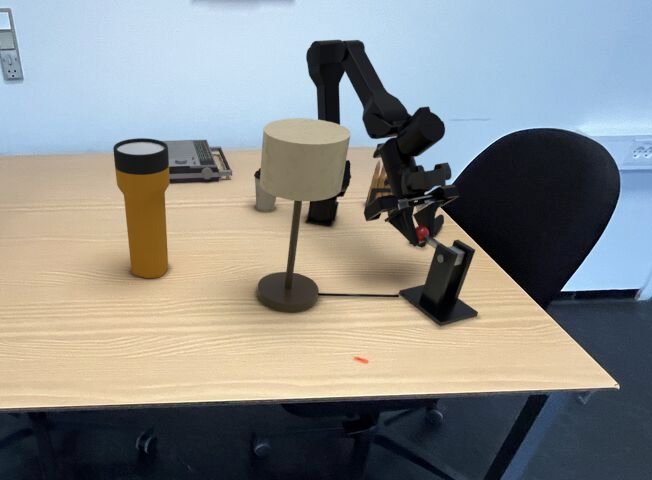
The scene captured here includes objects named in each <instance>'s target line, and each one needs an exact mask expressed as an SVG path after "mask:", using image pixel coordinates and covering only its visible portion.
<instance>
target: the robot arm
mask: <svg viewBox="0 0 652 480" xmlns="http://www.w3.org/2000/svg"><path fill="white" fill-rule="evenodd" d="M365 46H366V45H365V43H364V42H363V41H361V40H360V39H350V40H349V39H348V40H347V39H346V40H341V39H328V40H327V39H326V40H314V41H313V42H312V43H311V44H310V46H309V47H308V49H307V50H306V55H305V58H306V59H305V60H306V64H307V70H308V76H309V78H310V80H311V81H312V83H313V84H314V86H315V87H316V88H315V89H316V105H317V106H316V108H317V109H316V110H317V120H323V121H328V122H333V123H336V124H339V125H341V105H340V104H341V101H340V100H341V99H340V83H341V81H342V79H343V76H344V75H345V74H346V76H347V78H348V79H349V82H350V83H351V86H352V87H353V90H354V91H355V93H356V96H357V97H358V99H359V101H360V103H361V106H362V109H363V111H362V117H361V119H362V123H363V126H364V128H365V131H366V135H367V136H368V137H369V138H370V140H371V139H372V140H381V139H387V140H386V141H385V142H382V143H377V144H376V148H375V150H374V152H373V154H372V159H380V158H381V159H380V160H381V162H382V166H383V165H384V169H385V172H386V176H387V179H386V180H385V181H384V185H385V186H390V189H391V192H392V195H387V196H381V197H378V198H376V199H375V200H374V201H372V202H371V203H369V204H368V205H367V206H366V205H365V207H364V210H363V215H364V219H365V222H372V221H378V220H379V219H381V218H380V217H381V215H382V213H387V217H386V218H385V219H383V221H384V222H385V223H389V224H390V226H392V227H394V228H395V229H396V230H397V231H398V232H399V234H401V235H402V236H403V237H404V238H405V239H406V240H407V241H408V242H409V244H410V243H411V244H410V245H412V246H413V247H416V248H417V247H418V245H419V241H418V236H417V232H416V225H415V222H416V224H417V227H418V226H424V227H426V228H427V229H428V230H429V236H431V237H432V238H434V235H433V234H434V220H435V218H436V214H437V212H438V209H439V208H441V207H443V206H446V205H447V204H449V203H451V202H452V201H454V200H455V199H457V198H459V197H460V194H459V191H458V187H457V186H456V185H454V184H452V183H451V184H447V182H446V181H449V180H450V181H451V179H452V168H451V166H450V163H449V162H447V161H446V162H442V163H441V162H440V163H436V164H434V166H433V169H430V170H425V167H424V166H423V164H419V165H417V163H416V159H415V158H417V157H419V156H421V155H423V154H424V153H425V152H426V151H428V150H429V149H431V147H433V146H434V145H436V144H438V142H440V141H441V140H442V139H443V138H444V136H445V133H446V125H445V122H444V121H443V120H442V119H441V118H440V117H439V116H438V115H437V114H436V113H434V112H432V111H431V108H430V106H420V107H418V108H417V109H416V110H415V112H414V113H413V114H410V113H409V112H408V110H407V107H405V105H404V104H403V103H402V102H401V101H400V99H399V98H398V97H396V96H394V95H393V94H391V93H390V92H388V90H386V88H385V86H384V84H383V82H382V79H380V76H379V74H378V73H377V71H376V70H375V68H374V65H373V63H372V62H371V60H370V58H369V56H368V54H367V52H366V47H365ZM351 165H352V164H351V161H350V160H349V159H346V164H345V170H344V176H343V182H342V187H341V191H340V192H339V194H337V195H336V196H334V197H332V198H329V199H325V200H319V201H309V203H308V204H309V205H308V211H307V216H306V219H305V223H308V224H314V225H321V226H328V227H332V226H333V223H334V222H335V221H336V219H337V216H338V209H339V203H340V202H339V201H338V198H344V197H345V195H346V193H347V190H348V187H350V183H351V179H352V174H351ZM415 209H416V212H415V211H414V210H415ZM414 212H415V213H414ZM414 220H415V222H414Z"/></svg>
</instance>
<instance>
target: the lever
mask: <svg viewBox="0 0 652 480" xmlns="http://www.w3.org/2000/svg"><path fill="white" fill-rule="evenodd" d="M415 228H416V232H417V236H418V241H419V243H422V242H426V245H429V246H430V247H432V248H433V249H434V250H435V249H436V246H437V244H440V243H441V244H443V243H442V242H440V241H439V240H437V239H435V238H434V237H433V238H432V237H431V236H429V230H428V229H427V228H426V227H424V226H418V225H417V226H415ZM447 247H448V248H450V249H451V250H453V251H454V252H456V253H458V256H457V259H456V262H455V265H459V264H461V263H462V260H463V257H464V255H465V252H464V251H462V250H461V249H459V248H457V247H456V246H452V245H451V246H447ZM455 265H454V266H455Z"/></svg>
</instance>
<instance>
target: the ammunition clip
mask: <svg viewBox="0 0 652 480" xmlns="http://www.w3.org/2000/svg"><path fill="white" fill-rule="evenodd" d="M386 179H387V176H386V172H385V169H384V165H383V164H382V166H381V159H380V160H378V161H377V163H376V165H375V168H374V171H373V174H372V178H371V183H370V186H369V188H368V193H367V197H366V200H365V206H367V205H368V204H369V203H371V202H372V201H374V200H375V199H376V198H378V197H381V196H387V195H392V192H391V189H390V186H385V185H384V181H385V180H386Z"/></svg>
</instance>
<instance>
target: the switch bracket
mask: <svg viewBox="0 0 652 480" xmlns="http://www.w3.org/2000/svg"><path fill="white" fill-rule="evenodd" d="M441 243H442V242H440V244H437V246H436V249H435V248H434V253H433V256H432V258H431V262H430V265H429V269H428V272H427V275H426V278H425V282H424V284H421V285H416V286H412V287H407V288H404V289H403V288H402V289H399V291H398V295H399V296H401V297H402V298H403V299H405V300H406V301H407V302H408V303H410V304H411V305H412V306H413V307H415V308H416V309H417V310H419V312H421V313H422V314H423V315H425V316H426V317H428V318H429V319H430V320H431V321H433V322H434V324H436V325H437V326H439V327H443V326H446V325H449V324H453V323H458V322H461V321H464V320H467V319H471V318H474V317H478V315H479V311H477V310H476V309H474V308H473V307H472V306H470V305H469V304H467V302H465V301H463V300H462V299H460V298H459V296H460V294H461V291H462V288H463V286H464V283H465V280H466V277H467V274H468V272H469V269H470V266H471V263H472V261H473V258H474V256H475V253H476V249H475V248H473V247H472V246H470V245H468V244H467V243H465V242H464V241H462V240H460V239H453V241H452V245H451V246H456V247H457V248H459V249H461V250H462V251H464V252H465V255H464V257H463V260H462V263H461V264H459V265H455V262H456V259H457V256H458V253H456V252H454V251H453V250H451V249H450V248H448V247H449V246H446V245H445V244H443V243H442V244H441ZM454 265H455V266H454Z"/></svg>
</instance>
